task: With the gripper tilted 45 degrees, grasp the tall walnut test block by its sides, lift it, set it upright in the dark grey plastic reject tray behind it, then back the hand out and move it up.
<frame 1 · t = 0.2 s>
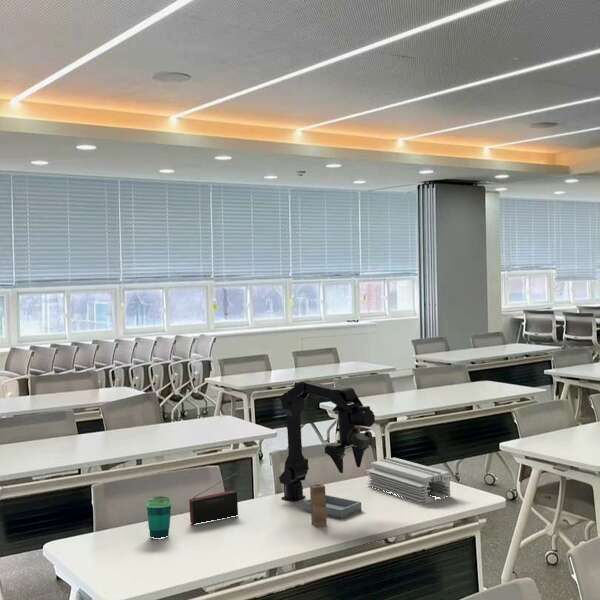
hand: (350, 470, 270), 14 cm above the table, tool pointing down, fingers open, 9 cm apart
reject tray: (332, 510, 273), on the table
cup: (160, 536, 254), on the table
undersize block: (319, 524, 258), on the table
aluminum extrusion profile: (407, 492, 292), on the table
radio: (217, 520, 269), on the table
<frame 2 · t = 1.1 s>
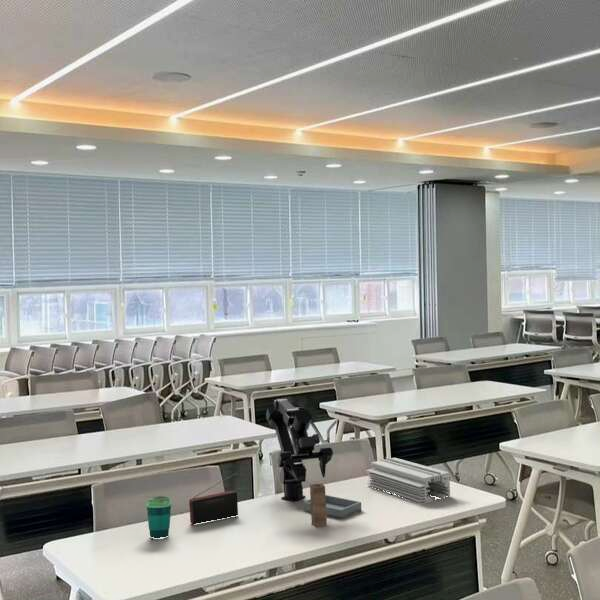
hand: (311, 478, 266), 13 cm above the table, tool tilted 45°, fingers open, 9 cm apart
nothing on the table moved.
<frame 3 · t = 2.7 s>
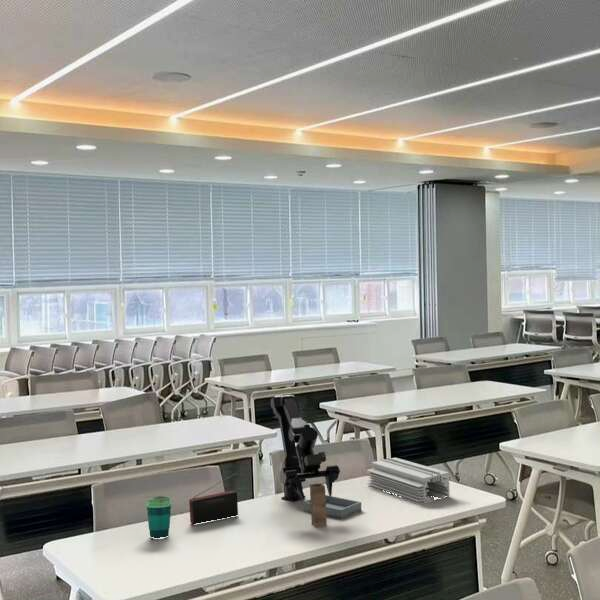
hand: (317, 497, 259), 9 cm above the table, tool tilted 45°, fingers open, 9 cm apart
nothing on the table moved.
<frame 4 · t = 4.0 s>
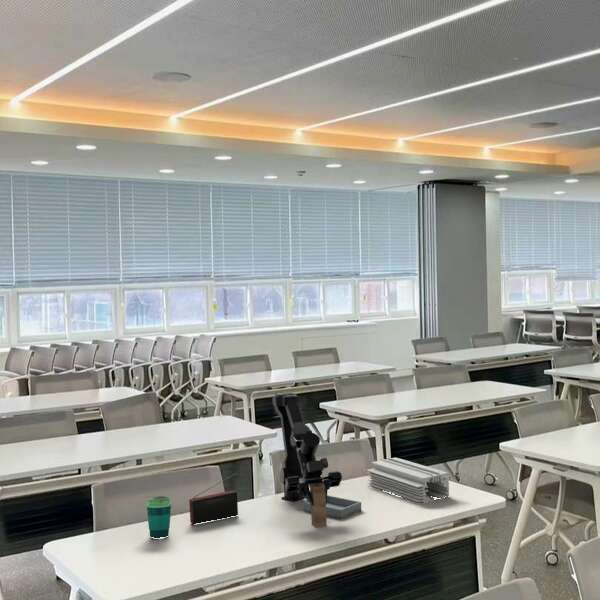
hand: (319, 504, 257), 7 cm above the table, tool tilted 45°, fingers closed on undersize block, 4 cm apart
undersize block: (319, 524, 258), on the table, touching gripper
everything else where it was.
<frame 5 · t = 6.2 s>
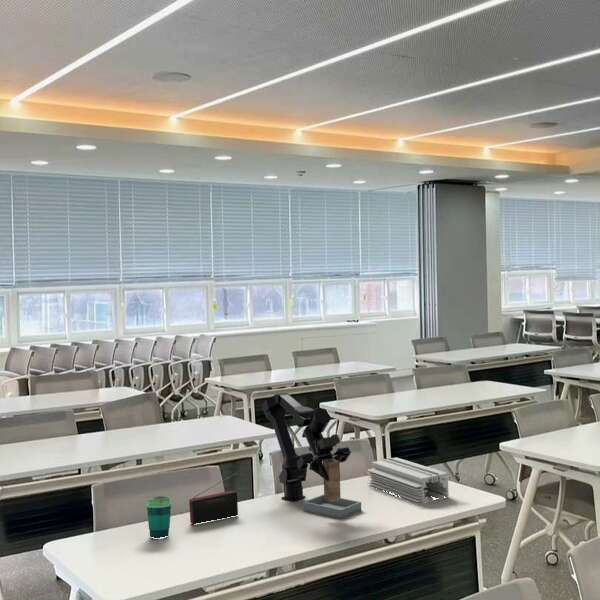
hand: (333, 479, 263), 13 cm above the table, tool tilted 45°, fingers closed on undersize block, 4 cm apart
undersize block: (332, 499, 264), point 6 cm above the table, touching gripper
everything else where it was.
when the fingers open (8 cm above the table, at t = 8.2 s): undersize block stays where it is, resting on reject tray.
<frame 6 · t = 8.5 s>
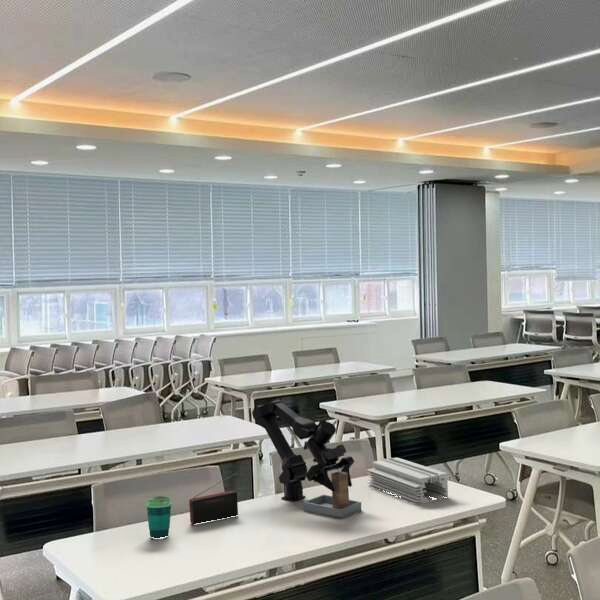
hand: (342, 488, 269), 9 cm above the table, tool tilted 45°, fingers open, 7 cm apart
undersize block: (341, 510, 270), point 1 cm above the table, touching reject tray
everything else where it was.
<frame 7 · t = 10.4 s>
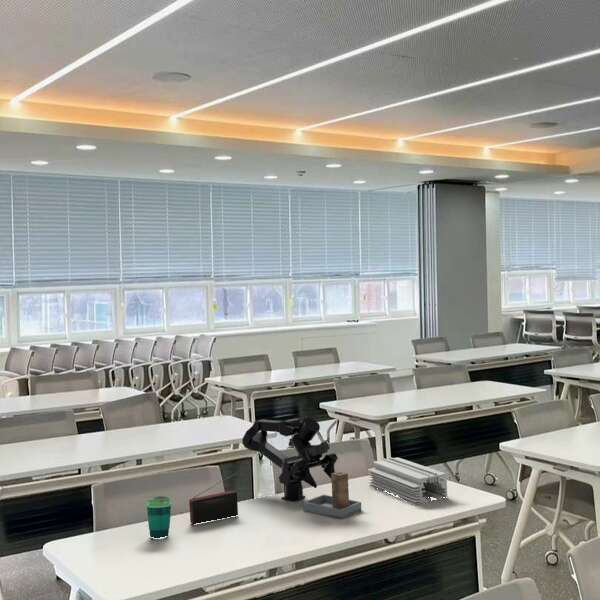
hand: (326, 484, 275), 8 cm above the table, tool tilted 45°, fingers open, 9 cm apart
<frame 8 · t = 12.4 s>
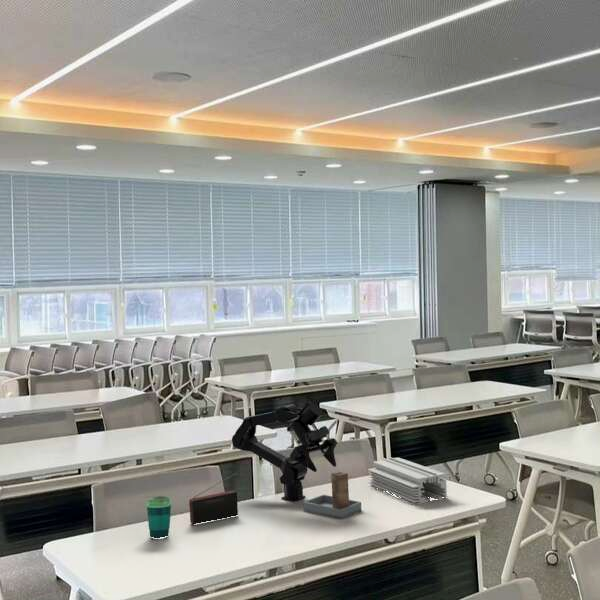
hand: (325, 468, 277), 14 cm above the table, tool tilted 45°, fingers open, 9 cm apart
at the end: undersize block inside the target area on the reject tray (4.0 cm from its centre), point 0.6 cm above the reject tray's base; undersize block tilted 0°; the gripper is holding nothing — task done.
